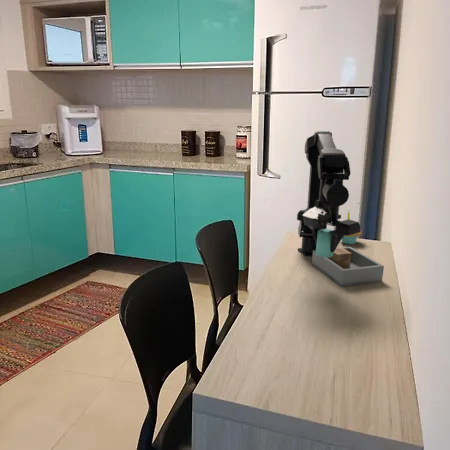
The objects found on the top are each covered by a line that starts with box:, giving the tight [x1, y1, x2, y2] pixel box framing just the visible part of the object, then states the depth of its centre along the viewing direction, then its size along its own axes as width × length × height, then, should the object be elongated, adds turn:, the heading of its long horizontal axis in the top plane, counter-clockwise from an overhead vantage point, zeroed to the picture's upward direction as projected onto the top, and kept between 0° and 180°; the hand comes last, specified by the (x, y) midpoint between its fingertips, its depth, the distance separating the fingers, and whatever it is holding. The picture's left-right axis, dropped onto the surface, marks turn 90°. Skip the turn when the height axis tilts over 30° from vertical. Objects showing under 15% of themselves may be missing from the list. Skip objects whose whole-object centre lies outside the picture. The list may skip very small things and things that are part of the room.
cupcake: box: [341, 210, 363, 245], centre depth 168 cm, size 9×8×12 cm
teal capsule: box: [316, 228, 334, 257], centre depth 128 cm, size 5×5×7 cm
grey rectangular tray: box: [311, 246, 385, 288], centre depth 140 cm, size 18×14×5 cm
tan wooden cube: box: [328, 247, 351, 269], centre depth 143 cm, size 5×5×5 cm
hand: (325, 249), depth 129 cm, fingers closed on teal capsule, 5 cm apart
